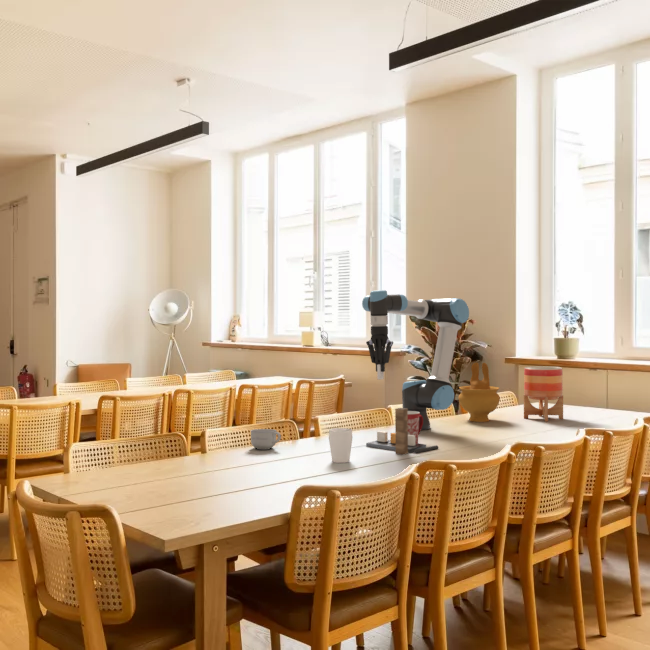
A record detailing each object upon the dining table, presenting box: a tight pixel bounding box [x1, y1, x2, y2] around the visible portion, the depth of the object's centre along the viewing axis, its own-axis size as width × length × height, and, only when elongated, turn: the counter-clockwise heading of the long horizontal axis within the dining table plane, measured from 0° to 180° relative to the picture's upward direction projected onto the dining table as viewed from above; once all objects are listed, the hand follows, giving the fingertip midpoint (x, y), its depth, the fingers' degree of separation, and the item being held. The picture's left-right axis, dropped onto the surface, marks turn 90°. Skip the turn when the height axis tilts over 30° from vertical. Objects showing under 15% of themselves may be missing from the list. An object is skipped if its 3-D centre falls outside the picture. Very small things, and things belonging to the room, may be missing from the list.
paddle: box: [376, 430, 389, 442], centre depth 304 cm, size 2×4×4 cm, turn 50°
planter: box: [523, 365, 564, 423], centre depth 375 cm, size 20×20×27 cm
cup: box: [328, 427, 353, 464], centre depth 273 cm, size 9×9×12 cm
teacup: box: [250, 428, 282, 450], centre depth 298 cm, size 14×11×8 cm
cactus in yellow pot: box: [458, 362, 501, 423], centre depth 371 cm, size 21×21×30 cm
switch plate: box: [365, 439, 427, 454], centre depth 299 cm, size 12×22×2 cm, turn 50°
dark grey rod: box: [413, 444, 439, 454], centre depth 291 cm, size 14×1×1 cm, turn 132°
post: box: [394, 407, 408, 456], centre depth 286 cm, size 4×4×18 cm
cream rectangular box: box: [408, 435, 415, 446], centre depth 295 cm, size 2×4×4 cm, turn 50°
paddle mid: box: [390, 432, 396, 444], centre depth 299 cm, size 2×4×4 cm, turn 50°
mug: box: [408, 411, 423, 444], centre depth 309 cm, size 13×9×14 cm
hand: (380, 379), depth 314 cm, fingers closed
